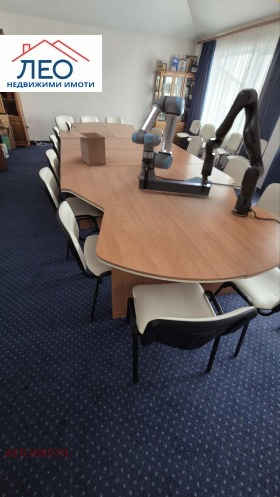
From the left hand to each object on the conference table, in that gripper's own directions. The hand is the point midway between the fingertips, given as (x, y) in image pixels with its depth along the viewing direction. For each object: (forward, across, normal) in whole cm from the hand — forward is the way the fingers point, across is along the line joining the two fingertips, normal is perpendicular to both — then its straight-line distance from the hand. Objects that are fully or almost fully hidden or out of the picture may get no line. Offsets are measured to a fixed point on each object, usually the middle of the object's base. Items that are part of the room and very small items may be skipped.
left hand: (145, 187), depth 176 cm
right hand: (-2, 0, -44) cm, 45 cm away
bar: (+1, 0, -22) cm, 22 cm away
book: (+3, +20, -43) cm, 48 cm away
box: (+3, +69, +62) cm, 93 cm away
